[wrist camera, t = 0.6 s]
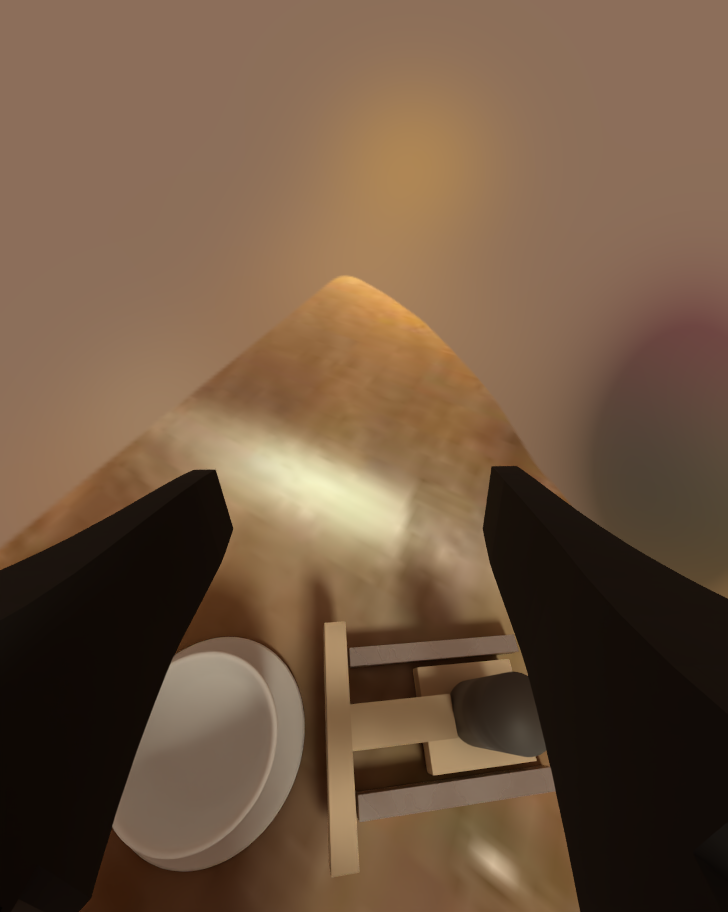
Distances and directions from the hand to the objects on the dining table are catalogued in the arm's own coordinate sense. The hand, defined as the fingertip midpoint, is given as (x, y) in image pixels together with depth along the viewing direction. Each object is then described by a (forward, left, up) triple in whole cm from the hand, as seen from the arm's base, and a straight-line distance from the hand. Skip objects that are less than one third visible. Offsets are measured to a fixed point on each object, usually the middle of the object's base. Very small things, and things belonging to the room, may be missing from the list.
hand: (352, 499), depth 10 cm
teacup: (-5, +6, -18) cm, 20 cm away
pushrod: (-5, -6, -17) cm, 19 cm away
